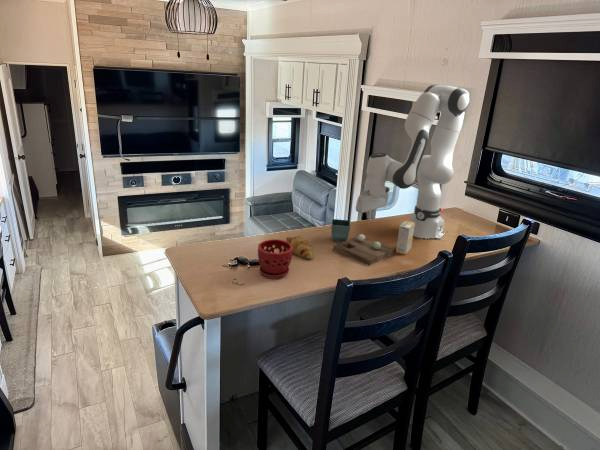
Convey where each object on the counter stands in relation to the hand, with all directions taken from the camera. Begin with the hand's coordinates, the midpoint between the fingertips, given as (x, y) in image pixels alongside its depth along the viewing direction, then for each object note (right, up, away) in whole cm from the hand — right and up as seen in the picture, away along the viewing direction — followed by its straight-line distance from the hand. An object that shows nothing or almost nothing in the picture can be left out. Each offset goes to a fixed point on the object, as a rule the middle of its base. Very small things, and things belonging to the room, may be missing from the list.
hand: (369, 218), depth 191 cm
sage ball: (+2, -12, -9) cm, 15 cm away
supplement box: (+15, -15, -2) cm, 21 cm away
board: (-4, -15, -6) cm, 17 cm away
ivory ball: (-4, -9, -1) cm, 10 cm away
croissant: (-33, -15, -9) cm, 37 cm away
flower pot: (-13, -11, +6) cm, 18 cm away
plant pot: (-42, -22, -29) cm, 56 cm away
